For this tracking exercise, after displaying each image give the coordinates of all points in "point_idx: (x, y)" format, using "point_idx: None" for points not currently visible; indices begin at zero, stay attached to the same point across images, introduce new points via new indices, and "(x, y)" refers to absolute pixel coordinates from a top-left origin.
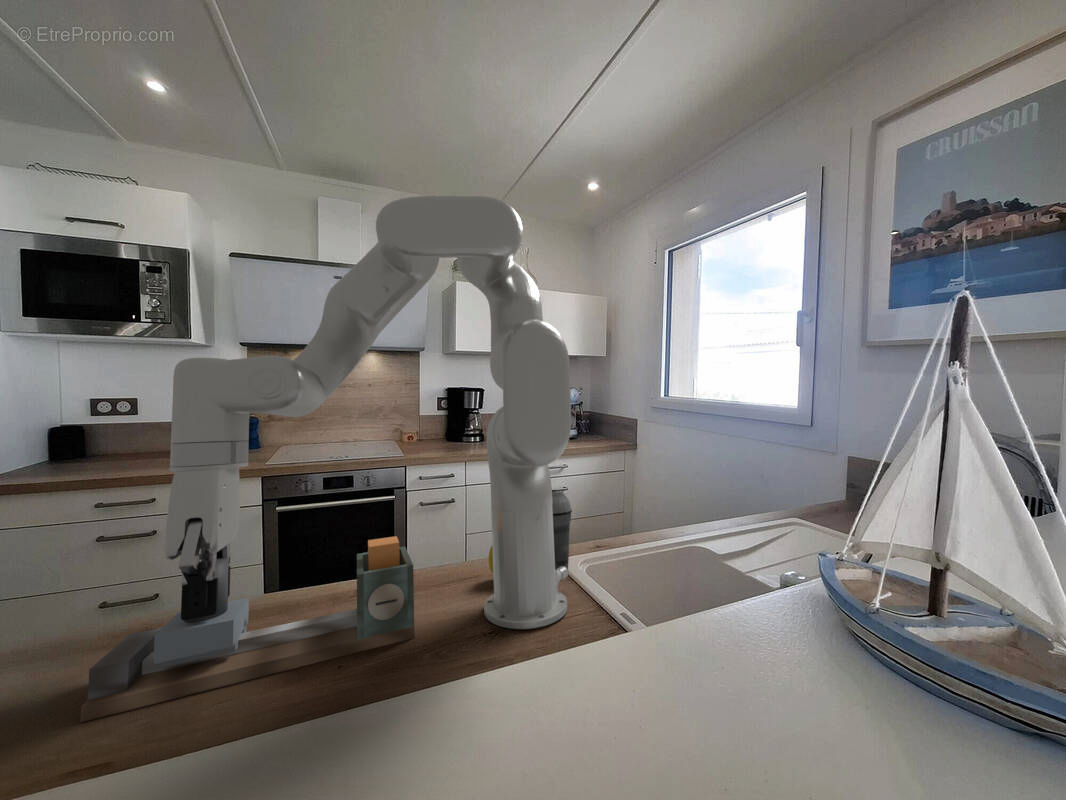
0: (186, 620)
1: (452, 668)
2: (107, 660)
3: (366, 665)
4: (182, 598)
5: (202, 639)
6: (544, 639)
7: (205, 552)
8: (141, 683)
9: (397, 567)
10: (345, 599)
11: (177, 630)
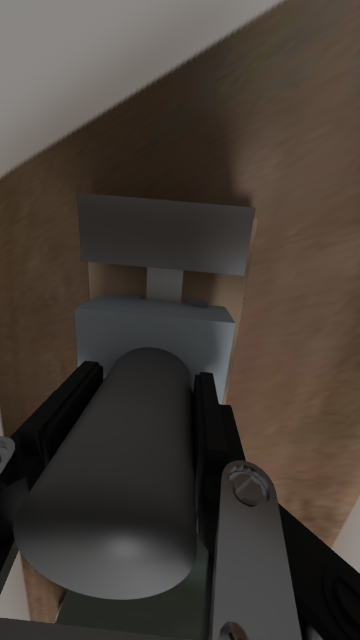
0: (121, 357)
1: None
2: (107, 214)
3: None
4: (55, 394)
5: None
6: (40, 601)
7: (212, 601)
8: (118, 273)
9: None
10: (301, 493)
11: (79, 348)
